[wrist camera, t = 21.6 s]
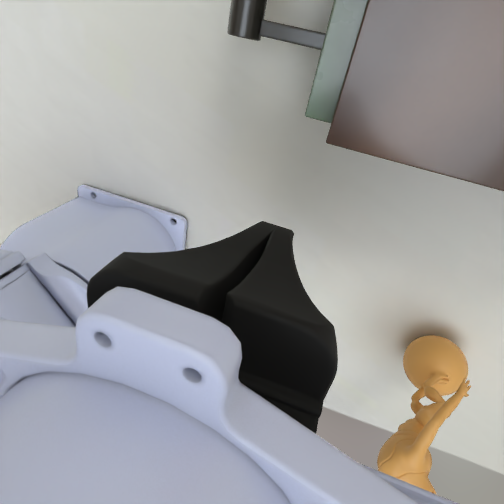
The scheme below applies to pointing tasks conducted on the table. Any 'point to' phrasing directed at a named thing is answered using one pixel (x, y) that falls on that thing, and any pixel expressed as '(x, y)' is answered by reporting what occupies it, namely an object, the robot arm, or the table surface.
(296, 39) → the drawer
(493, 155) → the cabinet
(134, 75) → the table surface
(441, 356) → the figurine
